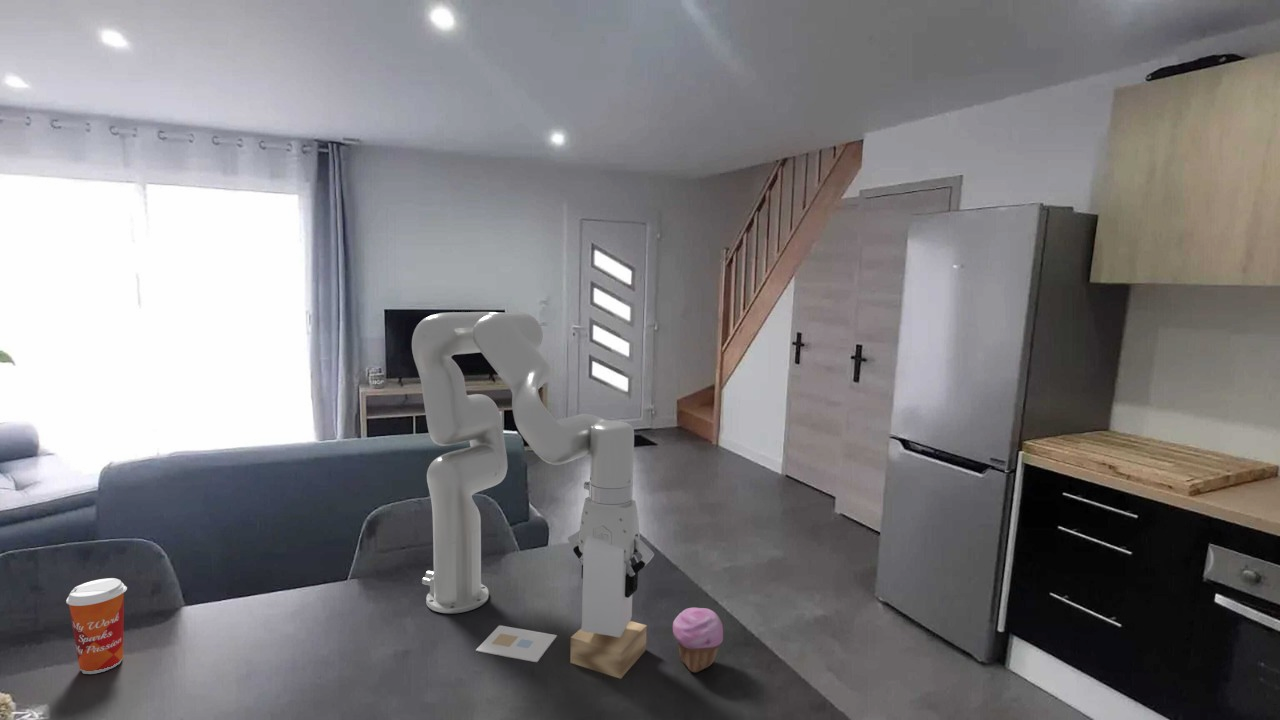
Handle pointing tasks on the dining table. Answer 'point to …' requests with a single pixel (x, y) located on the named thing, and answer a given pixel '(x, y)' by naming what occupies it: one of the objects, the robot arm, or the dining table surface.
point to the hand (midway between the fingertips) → (609, 588)
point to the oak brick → (609, 650)
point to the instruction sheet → (517, 643)
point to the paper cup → (98, 622)
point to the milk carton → (604, 589)
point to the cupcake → (698, 637)
